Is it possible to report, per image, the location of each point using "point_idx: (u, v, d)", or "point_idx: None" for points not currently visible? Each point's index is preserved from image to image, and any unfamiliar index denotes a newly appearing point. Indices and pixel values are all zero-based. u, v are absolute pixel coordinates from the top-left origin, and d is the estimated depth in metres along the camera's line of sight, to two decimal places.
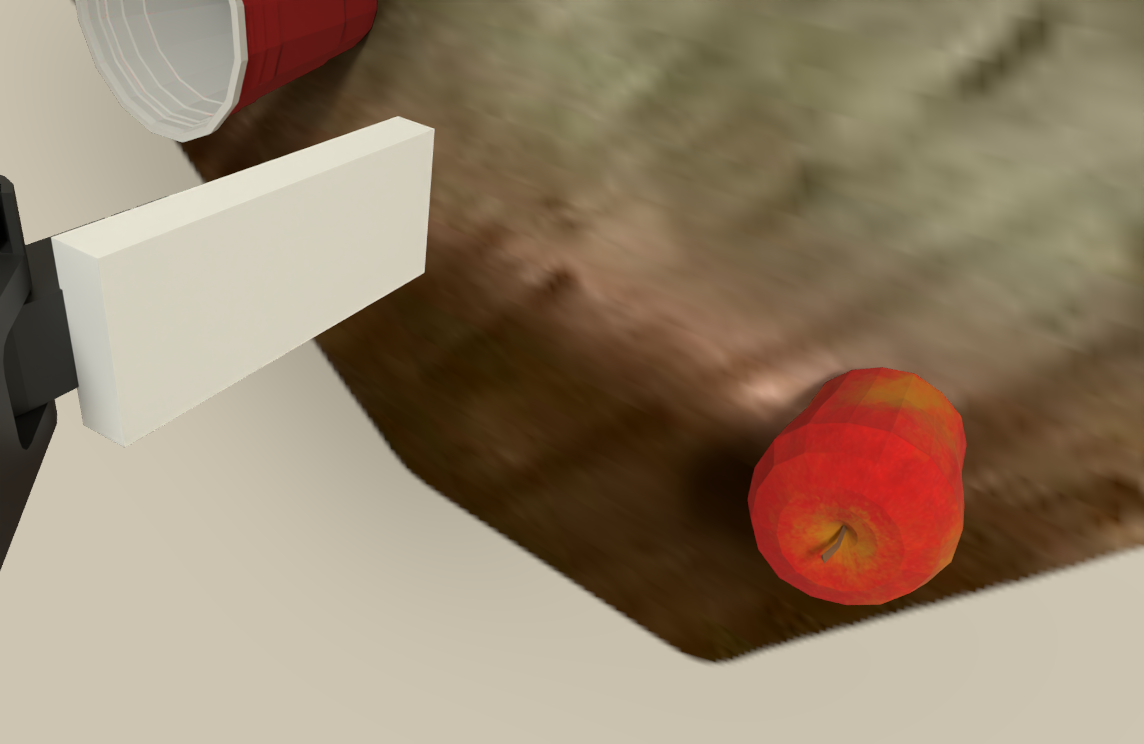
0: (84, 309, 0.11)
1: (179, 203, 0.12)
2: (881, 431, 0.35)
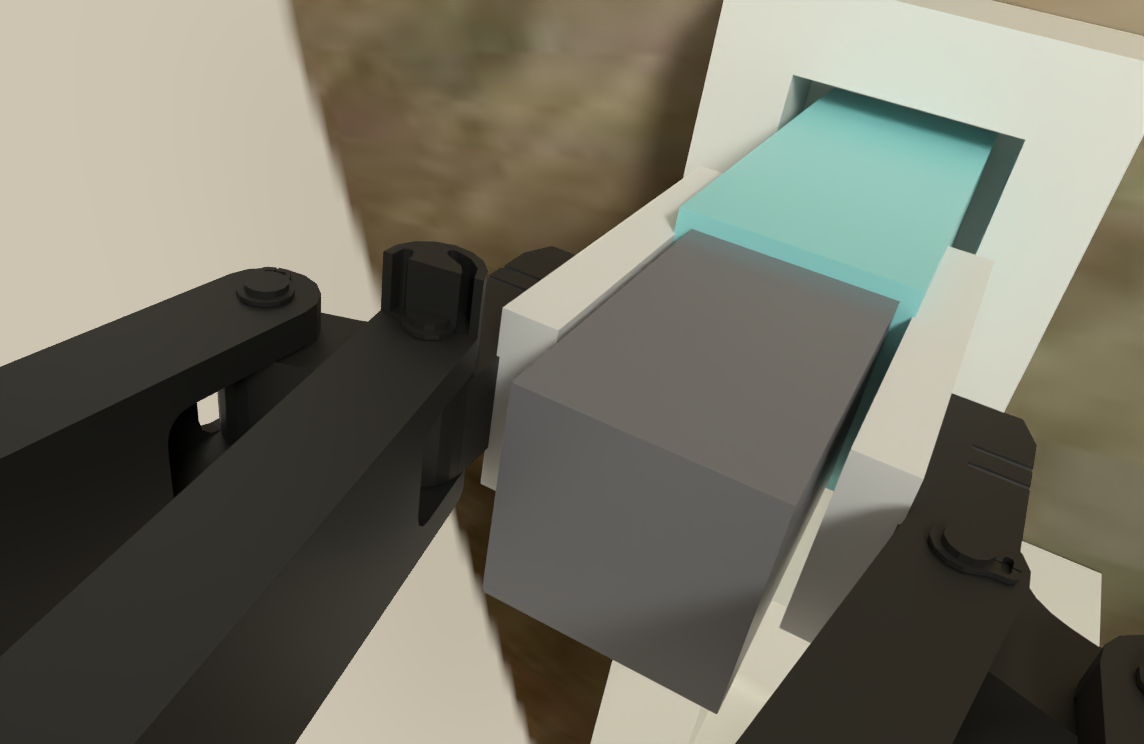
0: None
1: (584, 267, 0.12)
2: None
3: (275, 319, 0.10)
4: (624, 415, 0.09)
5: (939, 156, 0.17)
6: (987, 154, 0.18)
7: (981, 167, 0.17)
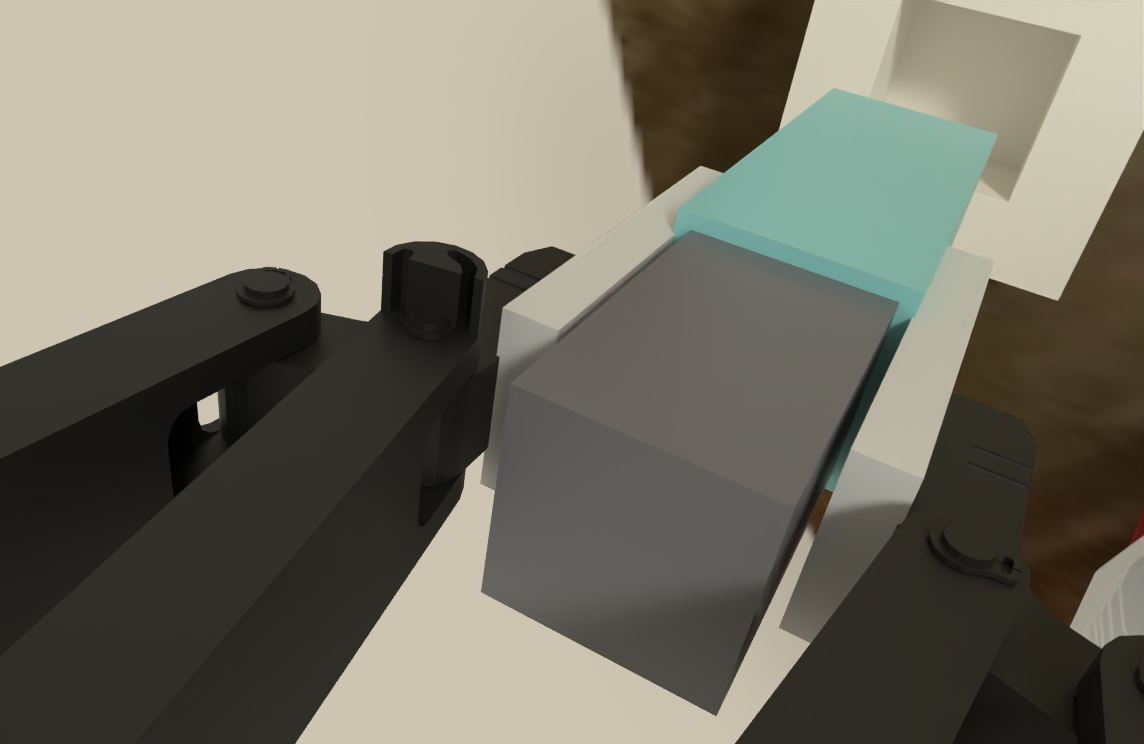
0: None
1: (584, 267, 0.12)
2: None
3: (275, 319, 0.10)
4: (624, 417, 0.09)
5: (939, 156, 0.17)
6: (987, 155, 0.18)
7: (981, 168, 0.17)
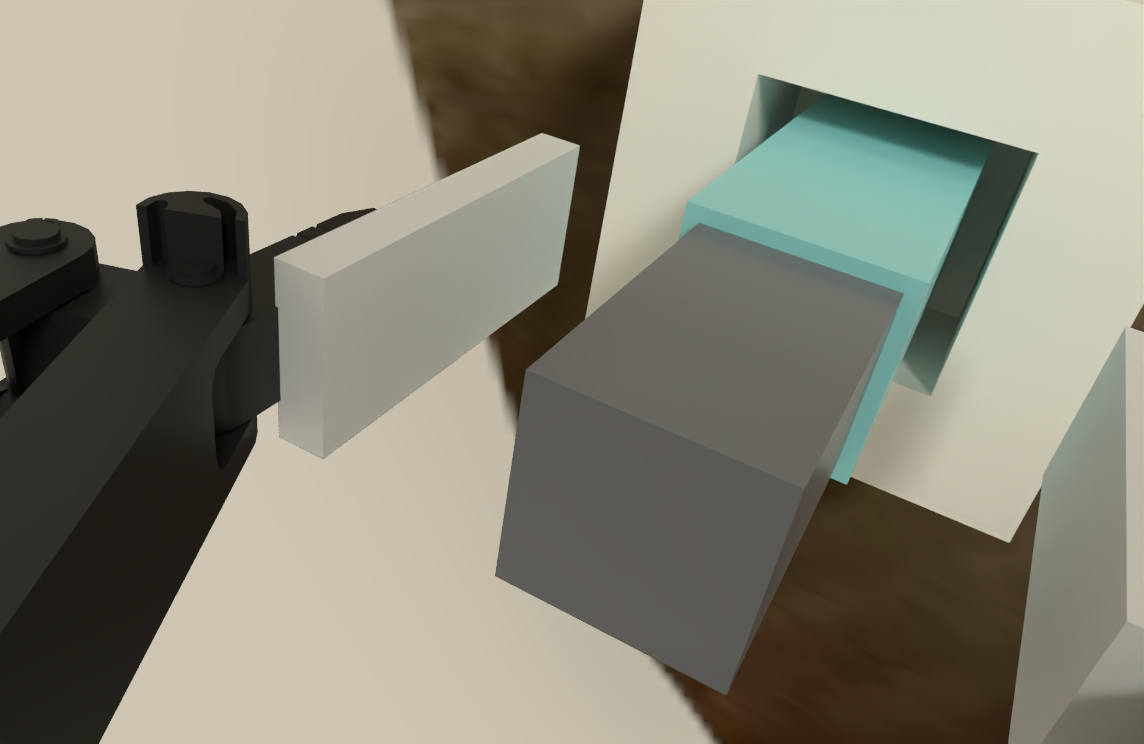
0: (300, 326, 0.11)
1: (376, 222, 0.12)
2: None
3: (53, 264, 0.10)
4: (637, 401, 0.09)
5: (942, 152, 0.17)
6: (989, 150, 0.18)
7: (983, 163, 0.17)
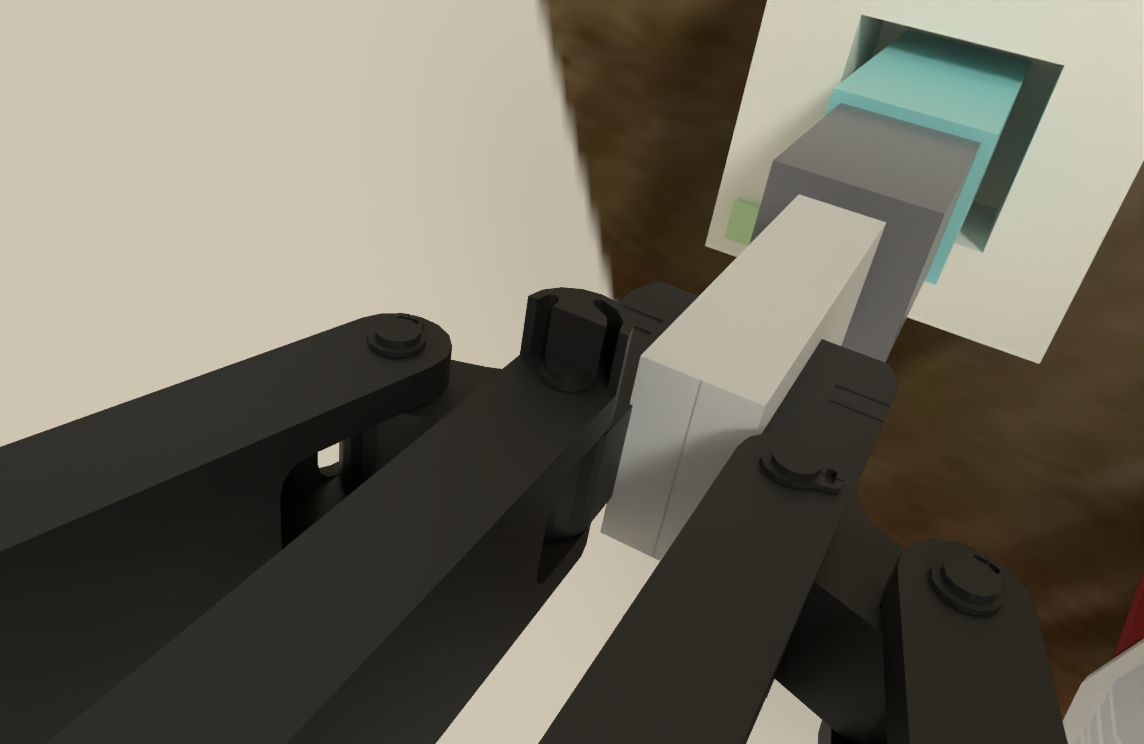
0: (657, 427, 0.11)
1: (711, 309, 0.12)
2: None
3: (402, 371, 0.10)
4: (840, 176, 0.16)
5: (993, 71, 0.24)
6: (1026, 72, 0.24)
7: (1023, 78, 0.24)
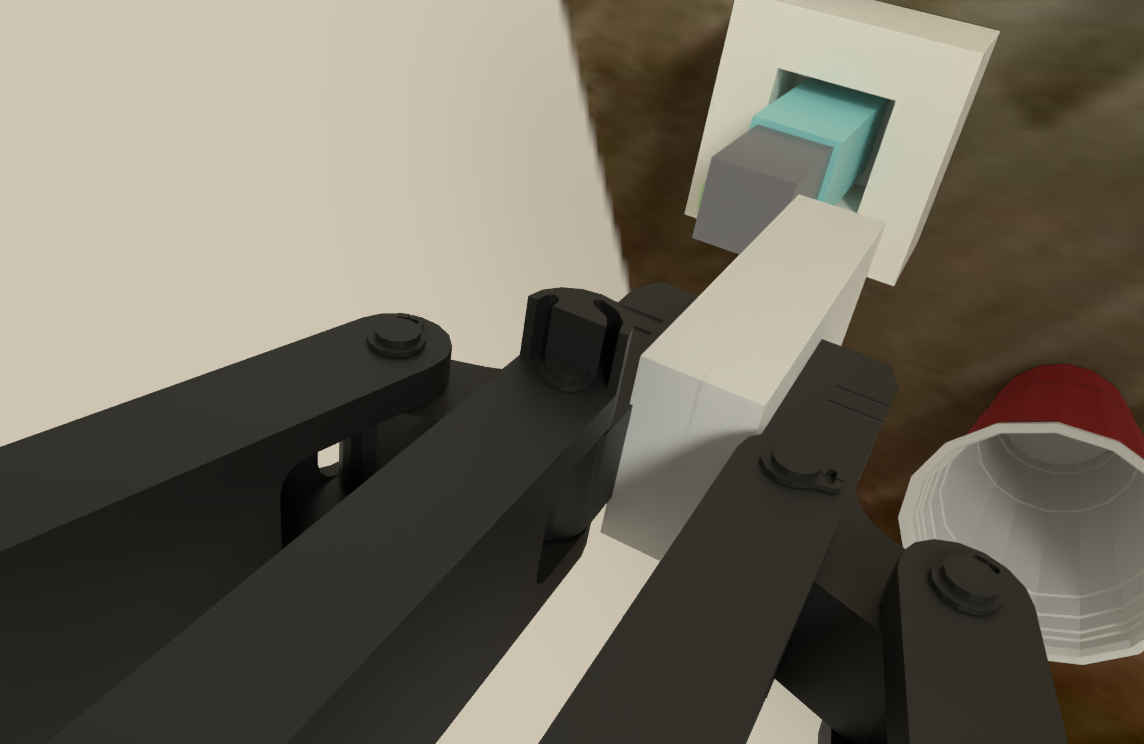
0: (657, 426, 0.11)
1: (710, 309, 0.12)
2: None
3: (402, 371, 0.10)
4: (746, 165, 0.31)
5: (859, 102, 0.39)
6: (882, 102, 0.39)
7: (877, 107, 0.39)
